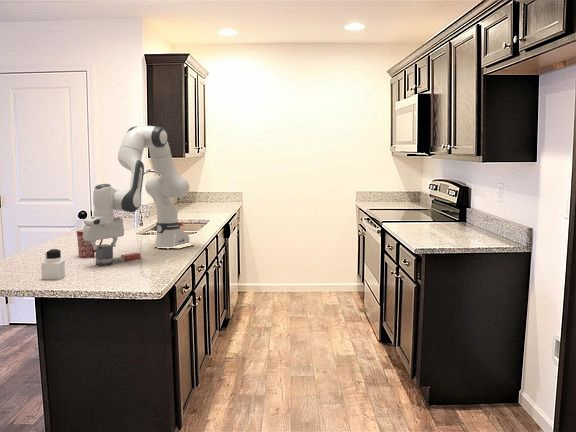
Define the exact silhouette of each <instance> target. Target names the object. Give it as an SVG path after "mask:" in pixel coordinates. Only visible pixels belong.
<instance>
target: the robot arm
mask: <svg viewBox="0 0 576 432" xmlns="http://www.w3.org/2000/svg"><path fill="white" fill-rule="evenodd" d="M145 148H146V149H148V151H149V157H150V161H151V162H150V163H151V165H152V169H153V171H154V172H155V173H157V174H158V175H159V176H155V177H149V178H147V180H146V182H145V186H144V187H145V191H146V193H147V194H148V195H149V196H150V198H151V199H152V200H153V202H154V205H155V208H156V218H157V219H156V236H155V237H156V238H155V243H154V248H155V247H174V246H177V245H181V244H185V243H189V242H190V235H189V234H188V233H187V232H185V231H184V230H183V229H182V228H181V227H183V226H184V222H178V215H179V214H178V212H179V211H178V207H177V206H176V204H175V205H174V204H173V203H172V201H171V200H170V198H171V199H172V198H176V199H178V198H185V197H186V196H188V194H189V192H190V183H189V182H188V181H187V180H186V179H185V178H184V177H183V176H181V175H180V173H179V171H178V170H177V169H176V166H175V165H174V161H173V157H172V152H171V148H170V144H169V142H168V132H167V130H166V129H165V128H164V127H161V126H154V125H142V126H141V125H140V126H137V125H136V126H131V127H129V129H128V130H127V132H126V134H125V135H124V138H123V139H122V141H121V144H120V147H119V149H118V154H117V160H118V162H119V164H120V165H121V166H122V167H123V168H125V169H126V170H128V171H130V172H131V178H130V184H129V189H128V190H119V189H115V188H114V187H112V185H111V184H110V183H102V184H97V185H96V186H94V189H93V194H92V200H93V202H92V203H93V208H94V210H93V214H92V215H91V216H89V217H87V218H85V219H84V220H83V224H84V226H83V228H82V229H83V239H84V240H85V241H91V244H92V245H93V249H94V250H97V249H98V246H96V245H97V244H96V242H97V241H101V239H103V240H105V239H106V240H107V239H113V240H112V242H110V245H113V248H115V247H117V245H116V244H117V241H118V240H119V238H121V237H124V235H125V229H124V220H123V218H121V217H119V216H118V217H114V211H120V212H121V211H123V212H127V213H128V212H129V213H135V212H136V211H137V210H139V209H140V207H141V205H142V191H143V190H142V189H143V182H144V174H145V165H144V162H142V157H143V154H144V149H145ZM190 243H191V242H190Z"/></svg>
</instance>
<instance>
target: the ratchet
mask: <svg viewBox="0 0 576 432" xmlns="http://www.w3.org/2000/svg"><path fill="white" fill-rule="evenodd" d="M136 259H138V260H141V253H139V252H132V253H125V254H121V255H120V256H115V257H114V256H113V258H110V259H104V260H102V259H97V258H96V257H95V266H99V267H108V266H112V265H113V264H118V263H124V262H131V261H136Z"/></svg>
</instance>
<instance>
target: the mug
mask: <svg viewBox="0 0 576 432" xmlns="http://www.w3.org/2000/svg"><path fill="white" fill-rule="evenodd" d="M75 232H76V237H77V249H78V250H77V251H78V257H79V258H83V259H85V258H86V259H87V258H93V257H94V256H95V254H96V250H94V249H93V245H92V244H91V241H85V240H84V239H83V228H82V229H80V228H79V229H76V231H75ZM103 240H104V239H101V240H100V242H99V244H98V245H103V244H102V243H103Z"/></svg>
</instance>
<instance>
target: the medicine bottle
mask: <svg viewBox="0 0 576 432" xmlns="http://www.w3.org/2000/svg"><path fill="white" fill-rule="evenodd" d="M61 255H62V254H61V250H60V249H57V248H50V249H47V250H45V251H44V259H45V260H44V261H43V262H41V264H40V265H41V268H40V269H41V280H45V281H47V280H50V281H51V280H52V281H57V280H58V281H59V280H60V279H62V278H64V277H66V276H65V275H66V272H65V271H66V270H65V269H66V267H65V266H66V265H65V259H62V258H61Z"/></svg>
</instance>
